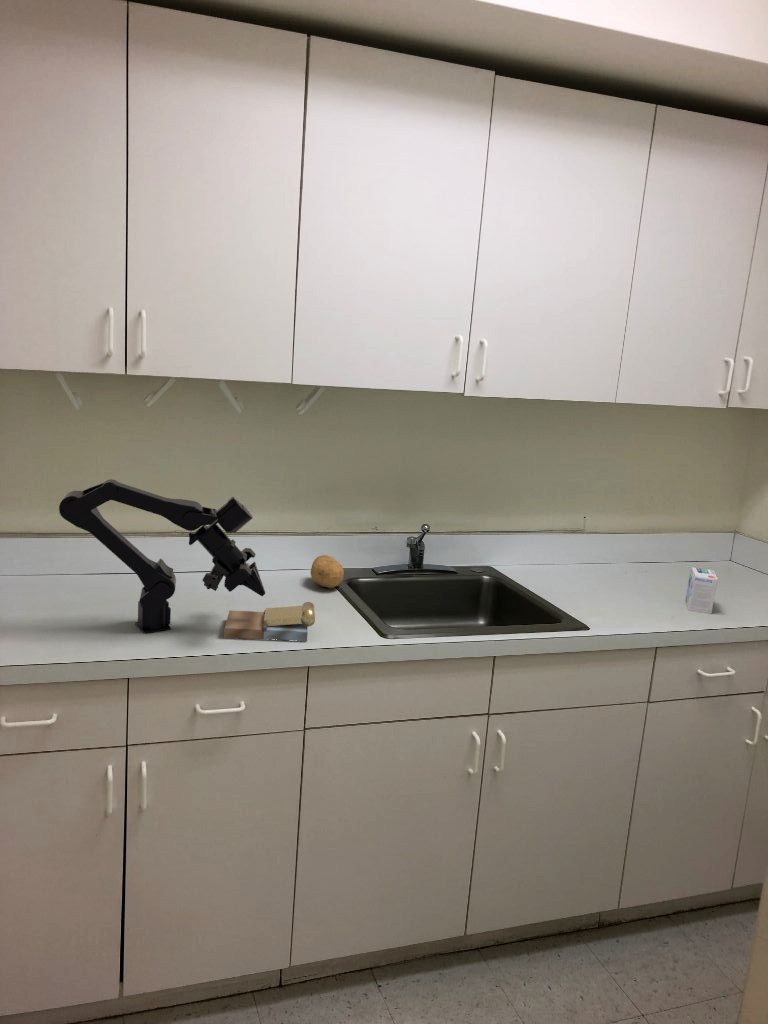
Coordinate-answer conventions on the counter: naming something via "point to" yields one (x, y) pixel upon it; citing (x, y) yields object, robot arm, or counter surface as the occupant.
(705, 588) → the light bulb box
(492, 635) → the counter surface
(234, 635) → the wood and metal base
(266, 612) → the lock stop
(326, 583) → the potato
